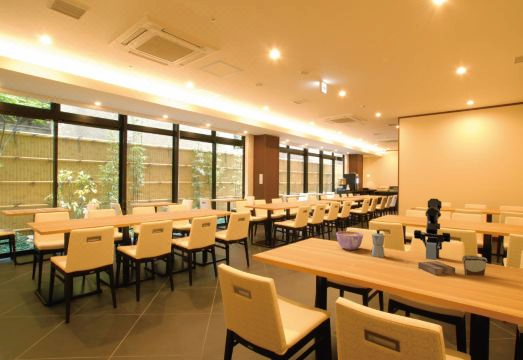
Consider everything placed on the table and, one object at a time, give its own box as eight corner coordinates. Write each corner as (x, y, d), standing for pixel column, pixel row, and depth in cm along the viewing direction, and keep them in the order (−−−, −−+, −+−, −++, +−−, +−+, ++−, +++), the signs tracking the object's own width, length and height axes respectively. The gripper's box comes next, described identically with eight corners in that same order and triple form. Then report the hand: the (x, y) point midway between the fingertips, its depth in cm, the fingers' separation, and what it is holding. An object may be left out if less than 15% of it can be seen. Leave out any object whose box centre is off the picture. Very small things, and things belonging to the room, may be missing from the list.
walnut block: (436, 267, 175) (437, 261, 175) (455, 274, 163) (455, 267, 163) (418, 268, 173) (418, 262, 173) (435, 276, 160) (435, 269, 160)
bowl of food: (359, 253, 206) (359, 237, 206) (332, 249, 217) (332, 234, 217) (366, 247, 223) (366, 233, 223) (340, 244, 234) (340, 230, 234)
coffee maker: (380, 258, 192) (381, 232, 192) (367, 256, 198) (368, 230, 198) (388, 254, 203) (389, 229, 203) (376, 252, 209) (376, 227, 209)
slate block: (426, 256, 173) (426, 241, 173) (436, 258, 170) (436, 243, 170) (425, 258, 168) (426, 243, 168) (435, 260, 166) (436, 244, 166)
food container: (479, 272, 165) (480, 255, 165) (487, 276, 159) (487, 258, 159) (457, 271, 166) (457, 254, 166) (463, 275, 160) (463, 257, 160)
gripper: (414, 216, 177) (412, 237, 168) (450, 219, 167) (450, 241, 158) (415, 227, 184) (413, 248, 175) (450, 230, 174) (450, 253, 165)
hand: (431, 247), depth 168 cm, fingers closed on slate block, 5 cm apart
